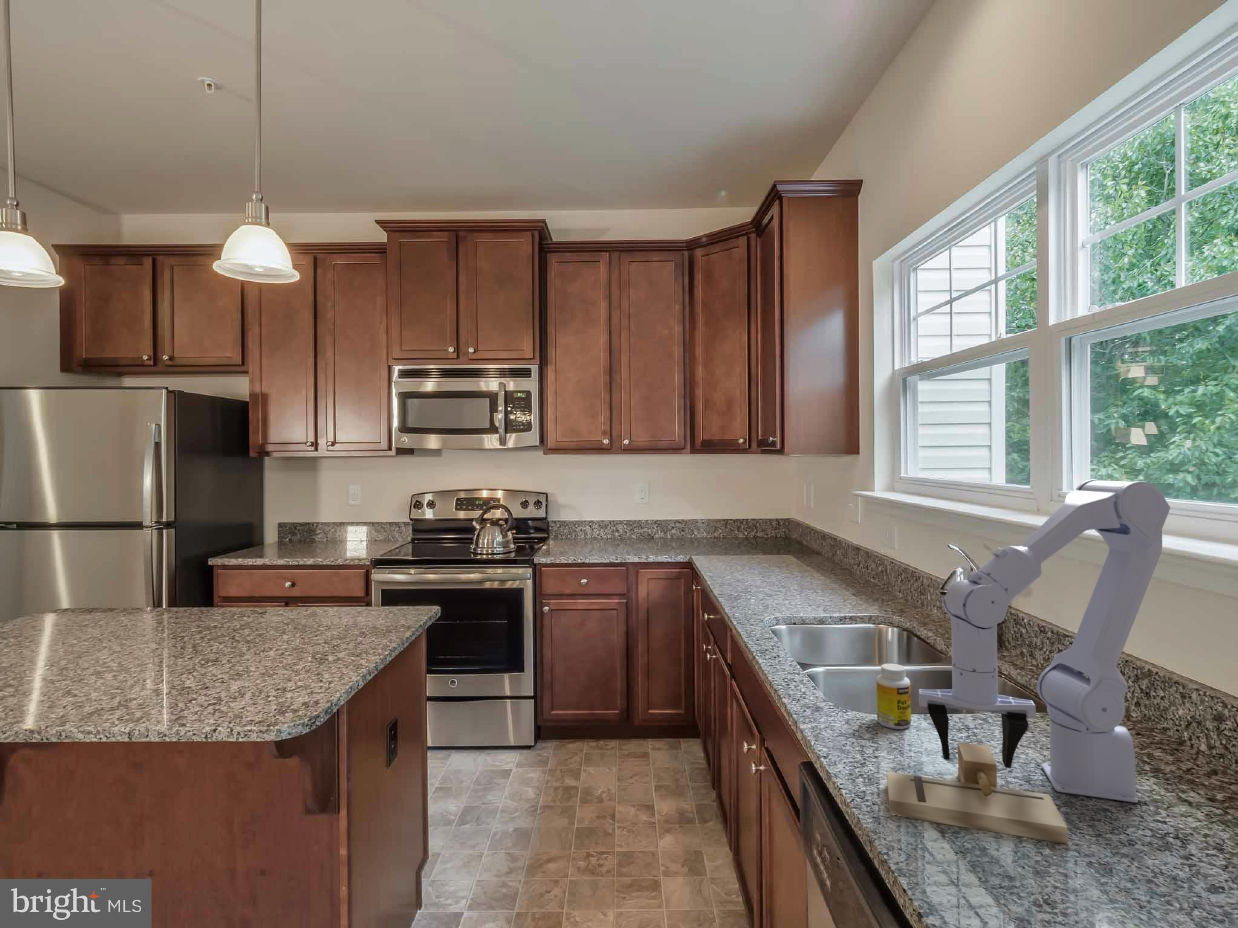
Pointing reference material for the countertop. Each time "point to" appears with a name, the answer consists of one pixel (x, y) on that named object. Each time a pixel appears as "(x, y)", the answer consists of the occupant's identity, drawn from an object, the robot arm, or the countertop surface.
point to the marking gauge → (977, 766)
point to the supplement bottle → (893, 697)
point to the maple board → (976, 807)
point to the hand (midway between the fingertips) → (975, 760)
